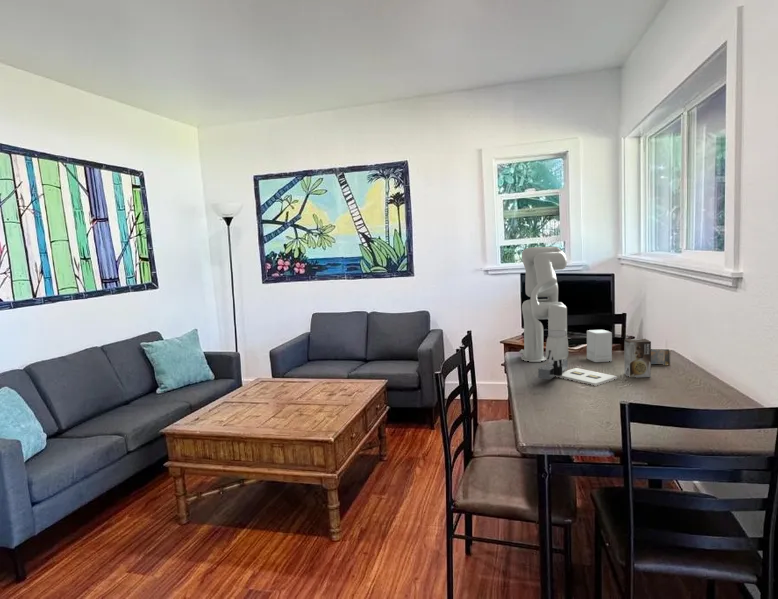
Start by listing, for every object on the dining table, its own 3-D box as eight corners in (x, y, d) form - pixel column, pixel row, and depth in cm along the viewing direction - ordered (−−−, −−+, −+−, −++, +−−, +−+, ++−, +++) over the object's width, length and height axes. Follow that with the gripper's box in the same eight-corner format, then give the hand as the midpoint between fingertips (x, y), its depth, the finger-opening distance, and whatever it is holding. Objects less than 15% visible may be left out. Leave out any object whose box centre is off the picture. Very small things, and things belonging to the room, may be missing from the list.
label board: (549, 375, 217) (549, 370, 217) (570, 369, 226) (570, 364, 226) (595, 386, 198) (595, 380, 198) (617, 378, 207) (617, 373, 206)
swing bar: (558, 365, 223) (558, 357, 223) (569, 367, 220) (569, 358, 220) (538, 377, 205) (538, 368, 204) (549, 379, 202) (549, 370, 201)
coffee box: (644, 373, 213) (645, 338, 211) (651, 377, 207) (651, 341, 205) (623, 373, 214) (624, 338, 212) (629, 377, 208) (629, 341, 206)
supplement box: (612, 361, 236) (612, 332, 235) (595, 362, 236) (595, 333, 234) (603, 357, 245) (603, 329, 244) (586, 358, 245) (586, 330, 243)
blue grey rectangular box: (644, 365, 227) (644, 346, 226) (642, 364, 230) (642, 344, 229) (670, 366, 224) (671, 346, 223) (668, 364, 227) (669, 345, 226)
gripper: (560, 329, 209) (561, 370, 211) (539, 334, 201) (539, 376, 203) (575, 332, 203) (576, 373, 205) (554, 336, 195) (554, 380, 197)
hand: (557, 375), depth 204 cm, fingers closed
